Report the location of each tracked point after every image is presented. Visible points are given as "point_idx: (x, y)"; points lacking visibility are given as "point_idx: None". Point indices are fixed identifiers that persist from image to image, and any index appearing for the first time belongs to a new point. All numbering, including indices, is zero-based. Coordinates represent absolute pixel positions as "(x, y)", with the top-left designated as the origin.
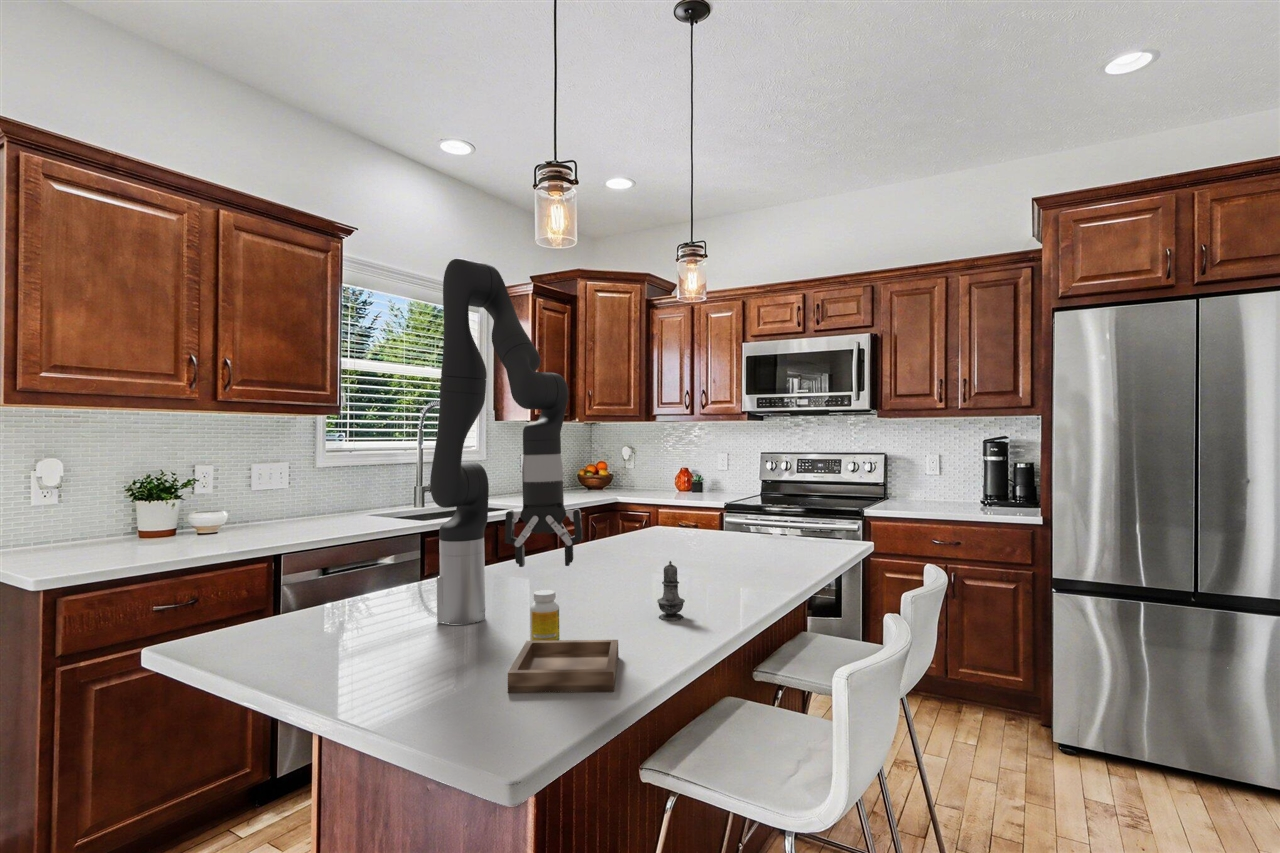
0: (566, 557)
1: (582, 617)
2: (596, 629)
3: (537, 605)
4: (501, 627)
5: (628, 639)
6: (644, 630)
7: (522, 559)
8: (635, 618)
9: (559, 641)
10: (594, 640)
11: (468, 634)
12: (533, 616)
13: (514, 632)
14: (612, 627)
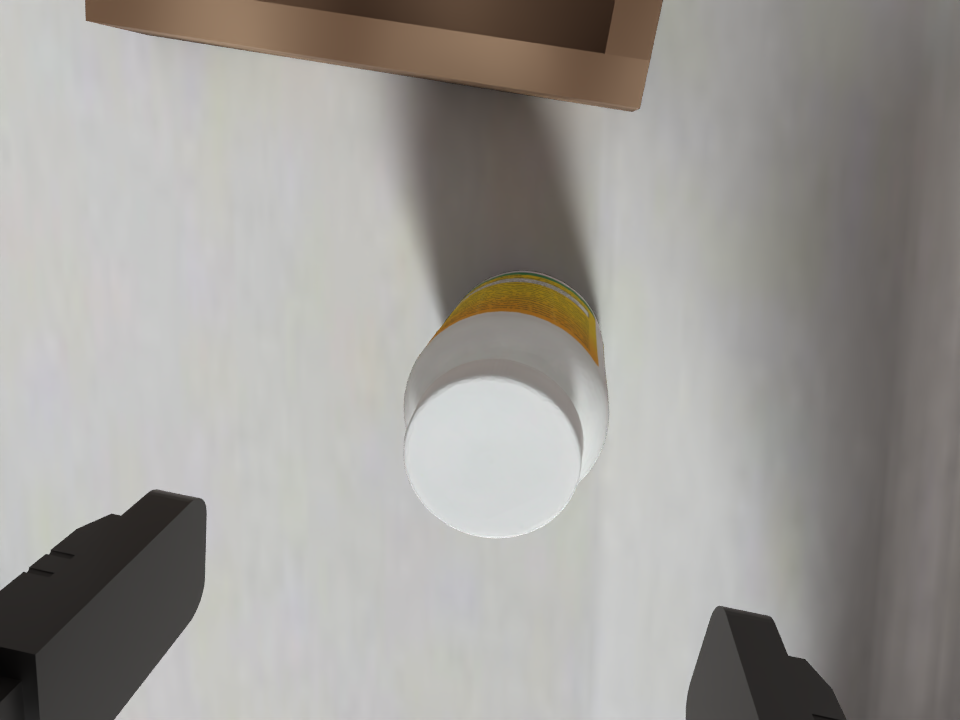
0: (124, 539)
1: (335, 711)
2: (267, 515)
3: (556, 371)
4: None
5: (110, 321)
6: (43, 443)
7: (741, 662)
8: None
9: (432, 47)
10: (221, 29)
11: (932, 598)
12: (587, 343)
13: (679, 570)
14: None
